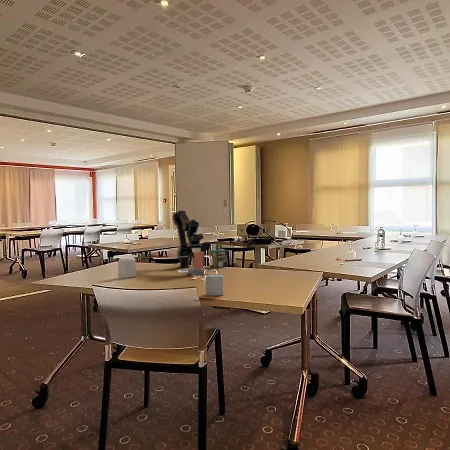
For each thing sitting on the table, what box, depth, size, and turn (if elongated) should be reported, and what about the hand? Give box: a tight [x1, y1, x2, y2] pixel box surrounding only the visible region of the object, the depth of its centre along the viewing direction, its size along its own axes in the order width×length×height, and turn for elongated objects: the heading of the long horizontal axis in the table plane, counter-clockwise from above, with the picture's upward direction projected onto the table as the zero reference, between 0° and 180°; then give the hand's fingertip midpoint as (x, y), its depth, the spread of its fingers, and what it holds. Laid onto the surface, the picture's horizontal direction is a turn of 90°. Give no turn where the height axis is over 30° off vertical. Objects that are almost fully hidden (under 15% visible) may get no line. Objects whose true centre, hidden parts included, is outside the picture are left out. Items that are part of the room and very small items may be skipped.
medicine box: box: [205, 274, 225, 297], centre depth 176 cm, size 8×4×9 cm, turn 86°
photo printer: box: [117, 256, 137, 280], centre depth 226 cm, size 10×4×12 cm, turn 123°
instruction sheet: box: [176, 269, 188, 274], centre depth 244 cm, size 10×14×1 cm
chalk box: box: [208, 244, 229, 269], centre depth 258 cm, size 9×9×15 cm
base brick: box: [187, 267, 206, 277], centre depth 233 cm, size 10×10×2 cm
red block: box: [191, 250, 204, 269], centre depth 232 cm, size 4×6×10 cm
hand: (198, 257), depth 231 cm, fingers closed on red block, 5 cm apart
